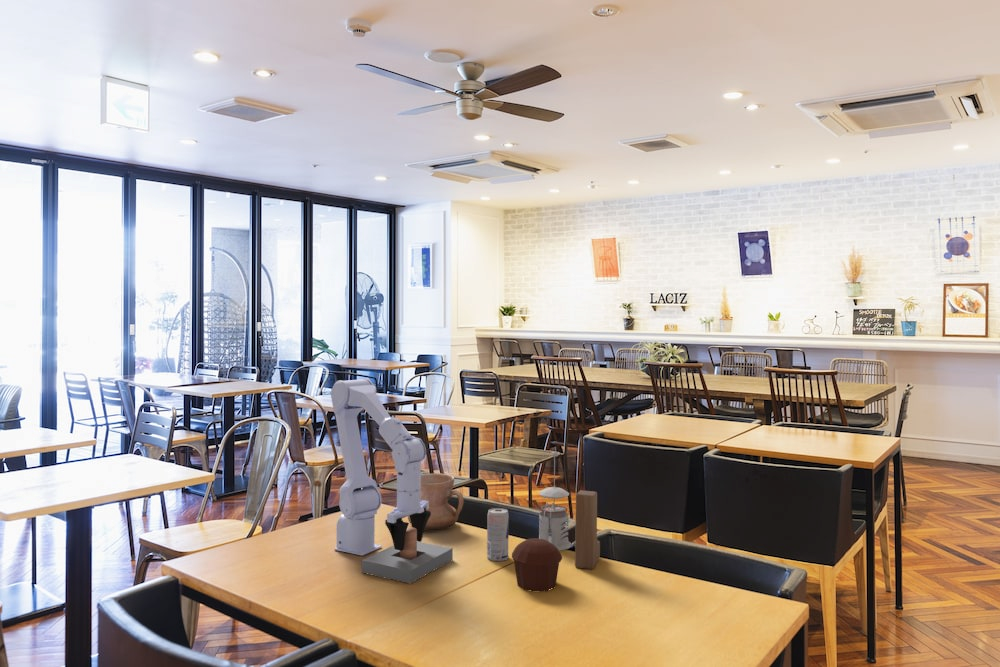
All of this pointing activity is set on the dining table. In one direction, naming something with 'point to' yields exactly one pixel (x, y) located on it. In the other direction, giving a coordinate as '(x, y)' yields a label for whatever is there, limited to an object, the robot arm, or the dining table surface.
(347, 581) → the dining table surface
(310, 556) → the dining table surface
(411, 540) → the terracotta peg
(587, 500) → the wooden block
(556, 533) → the french press
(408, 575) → the grey flat holed block
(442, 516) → the ceramic jug
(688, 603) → the dining table surface
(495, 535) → the energy drink
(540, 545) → the muffin
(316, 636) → the dining table surface
